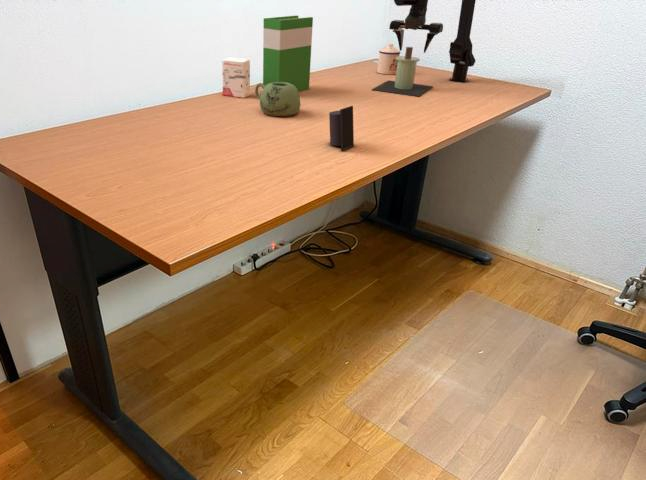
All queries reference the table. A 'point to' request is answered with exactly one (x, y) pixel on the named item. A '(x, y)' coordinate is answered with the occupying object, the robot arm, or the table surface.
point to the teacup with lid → (388, 60)
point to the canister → (405, 75)
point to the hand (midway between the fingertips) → (412, 51)
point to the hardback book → (287, 50)
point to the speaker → (342, 128)
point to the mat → (390, 88)
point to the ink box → (236, 77)
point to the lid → (408, 56)
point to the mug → (279, 99)
